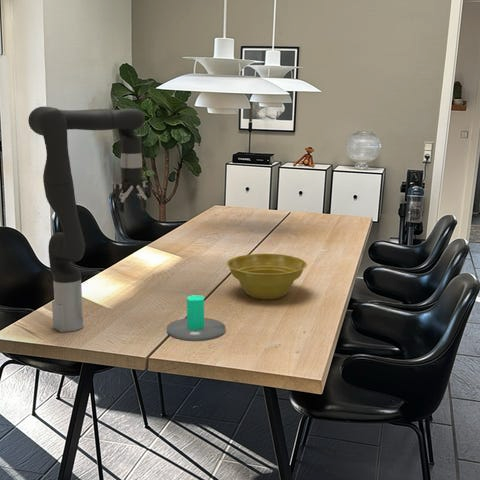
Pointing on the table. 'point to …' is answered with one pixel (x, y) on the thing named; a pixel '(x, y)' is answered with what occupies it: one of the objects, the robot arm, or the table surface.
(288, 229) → the table surface
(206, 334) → the candle tray
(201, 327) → the candle
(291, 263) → the planter bowl
